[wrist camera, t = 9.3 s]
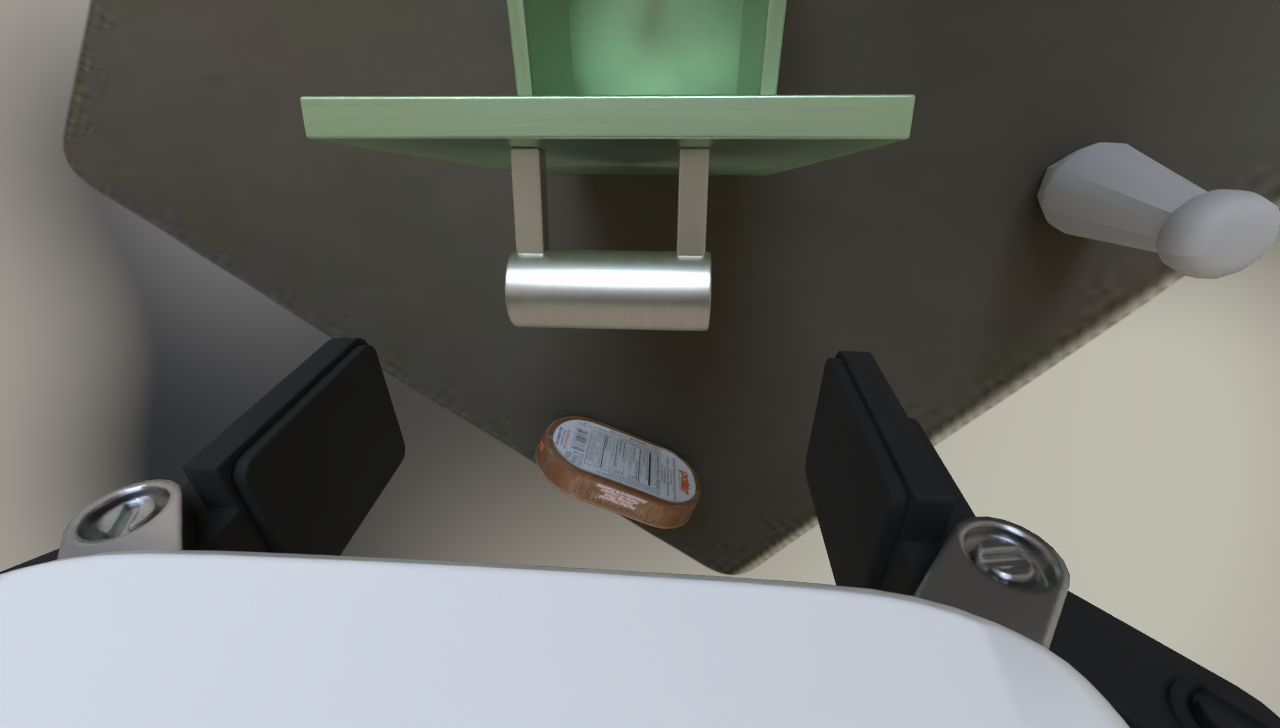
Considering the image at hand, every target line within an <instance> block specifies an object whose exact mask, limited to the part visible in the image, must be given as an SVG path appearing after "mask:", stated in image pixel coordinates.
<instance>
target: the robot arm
mask: <svg viewBox="0 0 1280 728" xmlns="http://www.w3.org/2000/svg"><path fill="white" fill-rule="evenodd" d="M404 455H405V444H404V440H403V437H402V434H401V431H400V427H399V424H398V421H397V418H396V414H395V411H394V408H393V405H392V402H391V398H390V395H389V392H388V388H387V385H386V382H385V379H384V376H383V372H382V369H381V366H380V362H379V359H378V356H377V353H376V350H375V349H374V348H373V347H372V346H370V345H368V344H367V342H366V341H365V340H363V339H361V338H332V339H330V340H329V341H328V342H326V343H325V344H324V345H323V346H322V347H321V348H319V349H318V350H317V351H316V352H315V353H314V354H312V356H310V357H309V358H308V359H307V360H306V361H304V362H303V363H302V364H301V365H300V366H299V367H297V368H296V369H295V370H294V371H293V372H292V373H291V374H289V375H288V376H287V377H286V378H285V379H283V380H282V381H281V382H280V383H279V384H278V385H276V386H275V387H274V388H273V389H272V390H271V391H270V392H268V393H267V394H266V395H265V396H264V397H263V398H261V399H260V400H259V401H258V402H257V403H256V404H254V405H253V406H252V407H251V408H250V409H249V410H248V411H246V412H245V413H244V414H243V415H242V416H240V417H239V418H238V419H237V420H236V421H235V422H233V423H232V424H231V425H230V426H229V427H228V428H227V429H225V430H224V431H223V432H222V433H221V434H220V435H218V436H217V437H216V438H215V439H214V440H213V441H211V442H210V443H209V444H208V445H207V446H206V447H204V448H203V449H202V450H201V451H200V452H199V453H198V454H196V455H195V456H194V457H193V458H192V459H191V460H189V461H188V462H187V463H186V464H185V465H184V466H182V469H183V470H184V472H185V474H186V475H187V477H188V479H189V480H190V481H189V482H188V483H187V484H186V485H185V486H184V487H183V488H180V486H179V485H178V484H176V483H174V482H173V481H168V480H161V479H159V480H150V481H143V482H139V483H135V484H132V485H128V486H126V487H123V488H120V489H118V490H116V491H113V492H111V493H109V494H107V495H105V496H103V497H101V498H99V499H98V500H96V501H94V502H92V503H91V504H90V505H88V506H87V507H86V508H84V509H83V510H81V511H80V512H79V513H78V514H77V515H76V516H75V517H74V518H73V519H72V520H71V521H70V522H69V523H68V525H67V527H66V529H65V531H64V533H63V536H62V540H61V544H60V548H59V549H57V550H54V551H52V552H49V553H47V554H45V555H42V556H39V557H37V558H34V559H32V560H29V561H27V562H24V563H22V564H20V565H17V566H14V567H12V568H10V569H7V570H4V571H2V572H0V728H1280V718H1279V717H1278V716H1277V715H1276V714H1275V713H1273V712H1272V711H1271V710H1270V709H1269V708H1268V707H1266V706H1265V705H1264V704H1263V703H1262V702H1260V701H1259V700H1257V699H1256V698H1254V697H1253V696H1251V695H1249V694H1248V693H1247V692H1245V691H1243V690H1242V689H1240V688H1239V687H1237V686H1236V685H1234V684H1232V683H1230V682H1228V681H1227V680H1225V679H1223V678H1222V677H1220V676H1218V675H1216V674H1215V673H1213V672H1211V671H1209V670H1207V669H1206V668H1204V667H1202V666H1200V665H1199V664H1197V663H1195V662H1193V661H1191V660H1190V659H1188V658H1186V657H1184V656H1183V655H1181V654H1179V653H1177V652H1176V651H1173V650H1172V649H1170V648H1168V647H1167V646H1164V645H1163V644H1161V643H1160V642H1158V641H1156V640H1154V639H1153V638H1151V637H1149V636H1147V635H1146V634H1144V633H1142V632H1140V631H1138V630H1137V629H1135V628H1133V627H1131V626H1130V625H1128V624H1126V623H1124V622H1123V621H1121V620H1119V619H1117V618H1115V617H1113V616H1112V615H1110V614H1108V613H1106V612H1105V611H1103V610H1101V609H1099V608H1098V607H1096V606H1094V605H1092V604H1091V603H1089V602H1087V601H1085V600H1084V599H1082V598H1080V597H1078V596H1076V595H1074V594H1073V593H1071V592H1069V591H1068V589H1069V583H1070V575H1069V572H1068V569H1067V567H1066V565H1065V563H1064V561H1063V559H1062V558H1061V557H1060V556H1059V555H1058V553H1057V552H1056V551H1055V550H1054V548H1053V547H1051V546H1050V545H1049V544H1048V543H1046V542H1045V541H1044V540H1043V539H1041V538H1040V537H1039V536H1037V535H1036V534H1034V533H1032V532H1030V531H1029V530H1027V529H1025V528H1023V527H1022V526H1019V525H1016V524H1014V523H1011V522H1008V521H1006V520H1002V519H997V518H992V517H976V516H975V515H974V513H973V512H972V510H971V508H970V506H969V505H968V503H967V502H966V500H965V498H964V497H963V495H962V493H961V492H960V490H959V488H958V487H957V485H956V483H955V482H954V480H953V478H952V477H951V475H950V473H949V472H948V470H947V468H946V467H945V466H944V464H943V462H942V460H941V459H940V457H939V455H938V454H937V452H936V450H935V449H934V447H933V445H932V444H931V442H930V440H929V439H928V437H927V435H926V434H925V432H924V431H923V429H922V427H921V426H920V424H919V423H918V422H917V421H916V420H915V419H913V418H908V416H907V414H906V413H905V411H904V409H903V407H902V406H901V404H900V402H899V401H898V399H897V397H896V396H895V394H894V392H893V390H892V389H891V387H890V385H889V384H888V382H887V380H886V379H885V377H884V375H883V373H882V372H881V370H880V368H879V367H878V365H877V363H876V362H875V360H874V358H873V356H872V355H871V354H870V353H869V352H853V351H839V352H838V353H837V355H836V357H835V358H828V359H827V361H826V364H825V368H824V373H823V378H822V383H821V388H820V393H819V398H818V402H817V407H816V412H815V417H814V422H813V427H812V432H811V437H810V442H809V447H808V452H807V457H806V464H805V471H806V478H807V482H808V485H809V489H810V493H811V496H812V500H813V503H814V507H815V511H816V514H817V518H818V521H819V525H820V529H821V532H822V536H823V539H824V543H825V546H826V550H827V554H828V557H829V561H830V565H831V568H832V571H833V575H834V579H835V583H836V585H826V584H817V583H805V582H793V581H778V580H762V579H749V578H735V577H720V576H703V575H686V574H669V573H653V572H635V571H634V572H633V571H619V570H600V569H585V568H566V567H548V566H530V565H511V564H492V563H472V562H454V561H435V560H416V559H395V558H374V557H373V558H372V557H352V556H340V555H341V553H342V552H343V550H344V549H345V547H346V546H347V544H348V543H349V541H350V540H351V538H352V536H353V535H354V533H355V532H356V530H357V529H358V527H359V526H360V524H361V523H362V521H363V520H364V518H365V517H366V515H367V514H368V512H369V511H370V509H371V508H372V506H373V505H374V503H375V502H376V500H377V498H378V497H379V495H380V494H381V492H382V491H383V489H384V488H385V486H386V485H387V483H388V482H389V480H390V479H391V477H392V476H393V474H394V473H395V471H396V470H397V468H398V466H399V465H400V464H401V462H402V460H403V458H404Z"/></svg>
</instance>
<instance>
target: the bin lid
mask: <svg viewBox="0 0 1280 728" xmlns="http://www.w3.org/2000/svg"><path fill="white" fill-rule="evenodd" d="M300 101H301V107H302V113H303V119H304V125H305V132H306V136H307V138H310V139H315V140H321V141H327V142H333V143H339V144H345V145H351V146H357V147H363V148H369V149H375V150H381V151H387V152H393V153H399V154H406V155H412V156H418V157H424V158H430V159H436V160H442V161H448V162H454V163H460V164H466V165H472V166H478V167H484V168H490V169H496V170H502V171H509V172H512V184H513V201H514V218H515V235H516V249H515V250H513V251H512V252H511V254H510V256H509V259H508V263H507V267H506V274H505V298H506V306H507V311H508V314H509V317H510V320H511V322H512V323H513V325H515V326H517V327H551V328H595V329H638V330H682V331H707V330H708V327H709V321H710V309H711V288H712V261H711V254H710V252H705V247H706V223H707V200H708V177H709V175H772V174H776V173H779V172H783V171H787V170H791V169H795V168H799V167H803V166H806V165H810V164H814V163H818V162H822V161H826V160H829V159H833V158H837V157H841V156H845V155H849V154H852V153H856V152H860V151H864V150H868V149H872V148H875V147H879V146H883V145H887V144H891V143H895V142H899V141H902V140H906V139H908V138H909V136H910V130H911V123H912V116H913V109H914V102H915V95H913V94H849V95H564V96H303V97H301V98H300ZM546 174H623V175H679V181H678V218H677V251H607V250H549V228H548V204H547V180H546Z"/></svg>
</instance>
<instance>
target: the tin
mask: <svg viewBox="0 0 1280 728" xmlns="http://www.w3.org/2000/svg"><path fill="white" fill-rule="evenodd" d="M535 460H536V464H537V467H538V469H539V471H540V473H541V474H542V476H543V477H544V478H545V479H546V480H547V481H548V482H549V483H550V484H551V485H552V486H553V487H555V488H557V490H559V491H561V492H562V493H564V494H567V495H569V496H571V497H574V498H576V499H579V500H582V501H585V502H587V503H590V504H593V505H595V506H598V507H601V508H604V509H607V510H609V511H612V512H615V513H617V514H620V515H623V516H626V517H628V518H631V519H634V520H636V521H639V522H642V523H644V524H647V525H650V526H653V527H657V528H663V529H671V528H677V527H680V526H682V525H684V524H685V523H686V522H687V521H688V520H689V519H690V517H691V514H692V512H693V510H694V509H695V507H696V505H697V504H698V502H699V500H700V497H701V487H700V484H699V480H698V477H697V475H696V473H695V471H694V470H693V469H692V467H691V466H690V465H689V464H688V463H687V462H686V461H685V460H684V459H683V458H681V457H680V456H679V455H678V454H676V453H675V452H673V451H671V450H669V449H667V448H665V447H663V446H660V445H658V444H655V443H653V442H650V441H648V440H645V439H643V438H640V437H637V436H635V435H632V434H630V433H627V432H625V431H622V430H620V429H617V428H614V427H612V426H609V425H607V424H604V423H602V422H599V421H596V420H593V419H590V418H586V417H581V416H567V417H562V418H559V419H557V420H555V421H554V422H552V423H551V424H550V425H549V427H548V428H547V429H546V431H545V433H544V435H543V438H542V440H541V442H540V443H539V445H538V446H537V448H536V452H535Z"/></svg>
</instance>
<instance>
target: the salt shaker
mask: <svg viewBox="0 0 1280 728" xmlns="http://www.w3.org/2000/svg"><path fill="white" fill-rule="evenodd" d="M1037 197H1038V200H1039V203H1040V206H1041V208H1042V211H1043V213H1044V215H1045V218H1046V220H1047V222H1048V223H1049V224H1051V225H1052V226H1054V227H1055V228H1057V229H1059V230H1060V231H1062V232H1064V233H1065V234H1070V235H1075V236H1079V237H1084V238H1089V239H1094V240H1099V241H1104V242H1109V243H1113V244H1118V245H1123V246H1128V247H1133V248H1138V249H1142V250H1147V251H1152V252H1157V253H1158V255H1159V257H1160V259H1161V261H1162V262H1163V263H1165V264H1166V265H1168V266H1169V267H1171V268H1172V269H1174V270H1175V271H1177V272H1179V273H1181V274H1183V275H1185V276H1189V277H1194V278H1206V279H1208V278H1209V279H1217V278H1220V277H1223V276H1227V275H1230V274H1233V273H1236V272H1239V271H1241V270H1243V269H1245V268H1246V267H1248V266H1249V265H1251V264H1252V263H1254V262H1255V261H1257V260H1258V259H1260V258H1261V257H1262V256H1263V255H1264V254H1265V253H1266V251H1267V250H1268V249H1269V248H1270V247H1271V246H1272V245H1273V244H1274V242H1275V239H1276V236H1277V234H1278V231H1279V228H1280V213H1279V207H1278V206H1276V205H1275V204H1273V203H1272V202H1270V201H1269V200H1267V199H1266V198H1264V197H1262V196H1260V195H1258V194H1256V193H1254V192H1250V191H1244V190H1228V189H1218V190H1213V191H1210V192H1207V191H1205V190H1203V189H1202V188H1200V187H1198V186H1197V185H1195V184H1193V183H1192V182H1190V181H1188V180H1186V179H1185V178H1183V177H1181V176H1180V175H1178V174H1176V173H1175V172H1173V171H1171V170H1170V169H1168V168H1166V167H1164V166H1163V165H1161V164H1159V163H1158V162H1156V161H1154V160H1153V159H1151V158H1149V157H1148V156H1146V155H1144V154H1142V153H1141V152H1139V151H1138V150H1136V149H1134V148H1133V147H1131V146H1129V145H1128V144H1126V143H1105V142H1104V143H1096V144H1093V145H1090V146H1088V147H1085V148H1082V149H1079V150H1077V151H1075V152H1073V153H1071V154H1070V155H1068V156H1066V157H1065V158H1063V159H1061V160H1060V161H1058V162H1056V163H1055V164H1053V165H1051V166H1050V167H1048V168H1047V170H1046V173H1045V175H1044V178H1043V180H1042V183H1041V186H1040V188H1039V191H1038V193H1037Z"/></svg>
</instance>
